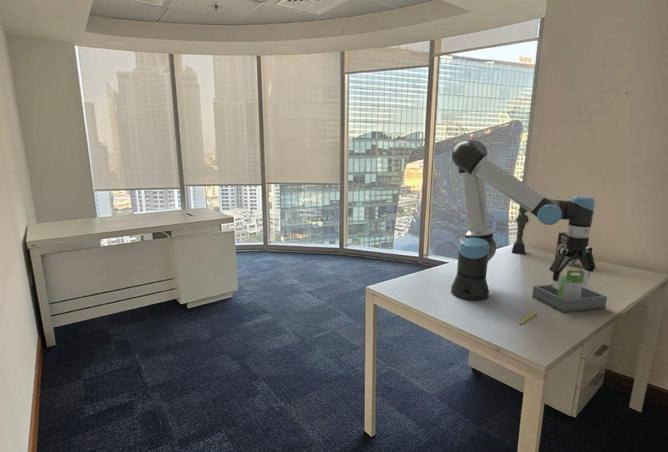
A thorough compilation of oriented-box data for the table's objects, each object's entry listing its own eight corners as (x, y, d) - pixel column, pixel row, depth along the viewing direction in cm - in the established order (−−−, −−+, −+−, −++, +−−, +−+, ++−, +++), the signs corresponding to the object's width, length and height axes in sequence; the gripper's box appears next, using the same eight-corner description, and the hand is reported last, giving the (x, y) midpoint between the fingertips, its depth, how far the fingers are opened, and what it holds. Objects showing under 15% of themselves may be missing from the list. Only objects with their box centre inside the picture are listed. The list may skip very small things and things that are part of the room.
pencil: (518, 325, 134) (518, 322, 134) (533, 314, 143) (533, 311, 143) (520, 326, 133) (521, 323, 133) (536, 315, 142) (536, 312, 142)
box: (563, 313, 144) (565, 301, 142) (532, 297, 159) (533, 285, 158) (605, 308, 148) (607, 296, 147) (570, 293, 164) (572, 282, 163)
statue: (524, 251, 228) (531, 202, 221) (525, 254, 221) (531, 204, 215) (511, 250, 231) (517, 201, 224) (512, 253, 224) (518, 203, 218)
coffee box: (554, 260, 211) (558, 232, 207) (562, 259, 212) (567, 231, 209) (568, 265, 202) (572, 236, 199) (577, 264, 204) (582, 235, 200)
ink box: (574, 298, 155) (579, 267, 152) (580, 302, 151) (585, 270, 148) (557, 297, 156) (561, 266, 153) (562, 301, 152) (566, 270, 149)
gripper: (559, 239, 141) (551, 293, 145) (611, 236, 147) (602, 287, 152) (544, 235, 148) (537, 286, 153) (594, 232, 154) (586, 281, 159)
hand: (569, 287), depth 152 cm, fingers open, 13 cm apart
